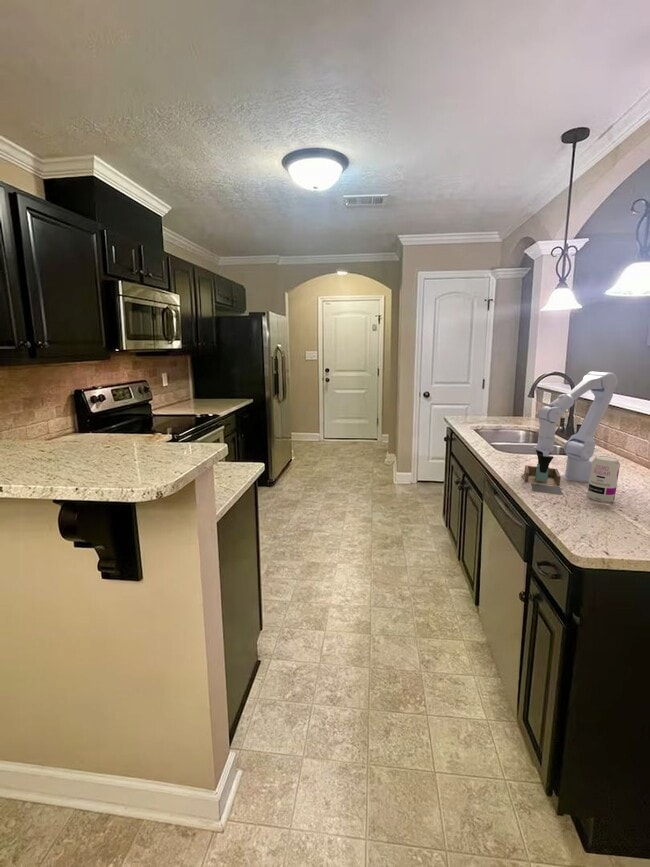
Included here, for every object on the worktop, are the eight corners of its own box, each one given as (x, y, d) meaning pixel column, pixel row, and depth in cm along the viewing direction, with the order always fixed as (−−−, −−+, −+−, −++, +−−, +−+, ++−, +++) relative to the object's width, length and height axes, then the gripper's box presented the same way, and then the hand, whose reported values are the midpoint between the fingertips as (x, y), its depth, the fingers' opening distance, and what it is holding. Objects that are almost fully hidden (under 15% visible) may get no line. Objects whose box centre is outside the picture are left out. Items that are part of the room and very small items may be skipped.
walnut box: (556, 478, 177) (557, 468, 176) (559, 486, 166) (560, 476, 165) (524, 474, 181) (525, 465, 180) (525, 482, 170) (526, 472, 170)
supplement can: (610, 497, 155) (616, 456, 152) (617, 504, 147) (623, 462, 144) (584, 494, 157) (590, 454, 154) (590, 501, 150) (596, 460, 147)
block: (546, 479, 174) (548, 464, 172) (547, 481, 170) (548, 467, 169) (535, 477, 175) (537, 463, 174) (536, 480, 171) (537, 466, 170)
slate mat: (559, 488, 164) (559, 487, 164) (562, 496, 155) (563, 495, 155) (531, 484, 168) (531, 483, 168) (532, 492, 159) (532, 491, 159)
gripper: (534, 432, 177) (530, 464, 180) (536, 439, 164) (532, 473, 167) (553, 434, 174) (549, 466, 177) (557, 441, 161) (552, 475, 164)
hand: (542, 470), depth 172 cm, fingers open, 7 cm apart
